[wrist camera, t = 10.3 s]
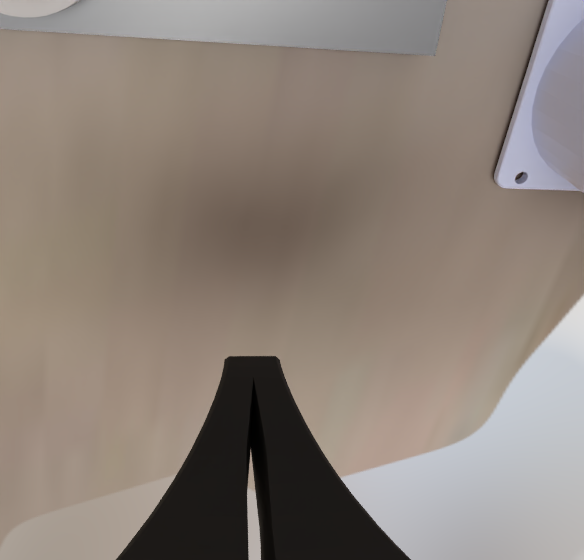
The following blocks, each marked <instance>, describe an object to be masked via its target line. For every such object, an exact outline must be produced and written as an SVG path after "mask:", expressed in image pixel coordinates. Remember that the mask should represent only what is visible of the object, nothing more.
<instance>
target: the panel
mask: <svg viewBox="0 0 584 560" xmlns="http://www.w3.org/2000/svg"><path fill="white" fill-rule="evenodd" d="M446 3H447V0H0V29H11V30H27V31H43V32H59V33H75V34H91V35H107V36H123V37H139V38H155V39H172V40H188V41H204V42H220V43H236V44H252V45H268V46H284V47H300V48H316V49H332V50H348V51H364V52H380V53H396V54H413V55H429V56H435V54H436V49H437V45H438V40H439V35H440V31H441V26H442V21H443V17H444V12H445V7H446Z"/></svg>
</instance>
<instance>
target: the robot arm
mask: <svg viewBox="0 0 584 560" xmlns="http://www.w3.org/2000/svg"><path fill="white" fill-rule="evenodd" d="M520 172H523V175H522V177H521V178H520V179H518V180H515V177H516V175H517V174H519V173H520ZM494 180H495V182H496V183H497V184H498V185H499V186H500V187H502V188H508V189H538V190H568V191H581V192H583V193H584V0H549V1H548V4H547V8H546V11H545V14H544V17H543V20H542V24H541V27H540V30H539V33H538V36H537V39H536V43H535V46H534V49H533V52H532V55H531V59H530V62H529V65H528V68H527V71H526V75H525V78H524V81H523V84H522V87H521V90H520V94H519V97H518V100H517V103H516V106H515V110H514V113H513V116H512V119H511V122H510V126H509V129H508V132H507V135H506V138H505V141H504V145H503V148H502V151H501V154H500V157H499V161H498V164H497V167H496V170H495V173H494ZM250 449H251V453H252V462H253V472H254V481H255V490H256V499H257V508H258V517H259V526H260V539H261V540H260V541H261V560H411V559H410V558H409V557H408V556H406V555H405V553H404V552H403V551H402V550H401V549H400V548H399V547H398V546H397V545H396V544H395V543H394V542H393V541H392V540H391V539H390V538H389V537H388V536H387V535H386V534H385V532H384V531H383V530H382V529H381V528H380V527H379V526H378V525H377V524H376V522H375V521H374V520H373V519H372V518H371V517H370V515H369V514H368V513H367V512H366V511H365V509H364V508H363V507H362V506H361V504H359V502H358V501H357V500H356V499H355V497H354V496H353V495H352V494H351V492H350V491H349V489H348V488H347V487H346V485H345V484H344V483H343V481H342V480H341V479H340V477H339V476H338V474H337V473H336V472H335V470H334V469H333V467H332V466H331V464H330V463H329V461H328V460H327V458H326V457H325V455H324V454H323V452H322V450H321V449H320V447H319V445H318V444H317V442H316V440H315V439H314V437H313V435H312V434H311V432H310V430H309V428H308V426H307V425H306V423H305V421H304V419H303V417H302V415H301V413H300V411H299V409H298V407H297V405H296V403H295V401H294V398H293V396H292V394H291V392H290V389H289V387H288V385H287V382H286V379H285V377H284V374H283V371H282V368H281V364H280V360H279V359H278V358H277V357H276V356H229V357H228V358H227V359H225V362H224V369H223V373H222V377H221V381H220V384H219V387H218V390H217V393H216V396H215V398H214V401H213V403H212V406H211V408H210V411H209V413H208V415H207V418H206V420H205V422H204V425H203V427H202V429H201V431H200V433H199V435H198V437H197V439H196V441H195V443H194V445H193V447H192V449H191V451H190V453H189V455H188V456H187V458H186V460H185V462H184V464H183V465H182V467H181V469H180V470H179V472H178V474H177V475H176V477H175V479H174V481H173V482H172V484H171V485H170V487H169V488H168V490H167V491H166V493H165V494H164V496H163V497H162V499H161V500H160V502H159V504H158V505H157V506H156V508H155V509H154V511H153V512H152V514H151V515H150V516H149V518H148V519H147V520H146V522H145V523H144V525H143V526H142V527H141V528H140V530H139V531H138V532H137V534H136V535H135V536H134V538H133V539H132V540H131V542H130V543H129V544H128V546H127V547H126V548H125V549H124V551H123V552H122V553H121V554H120V555H119V557H118V558H117V559H116V560H248V520H247V486H248V474H249V462H250Z"/></svg>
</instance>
